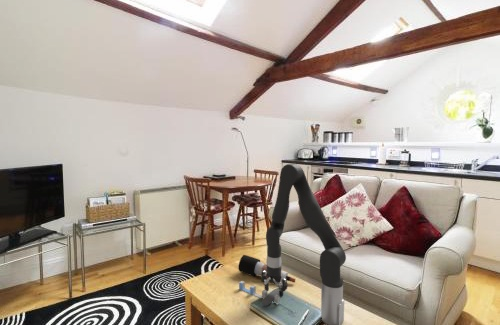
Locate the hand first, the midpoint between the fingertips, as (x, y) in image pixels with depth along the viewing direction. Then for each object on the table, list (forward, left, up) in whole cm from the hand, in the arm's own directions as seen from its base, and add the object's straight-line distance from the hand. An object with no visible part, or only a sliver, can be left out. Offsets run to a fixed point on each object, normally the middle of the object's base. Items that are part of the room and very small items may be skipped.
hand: (273, 294), depth 139 cm
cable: (+14, -15, -3) cm, 21 cm away
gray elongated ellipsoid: (0, +3, -2) cm, 4 cm away
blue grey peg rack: (+7, +3, -2) cm, 8 cm away
